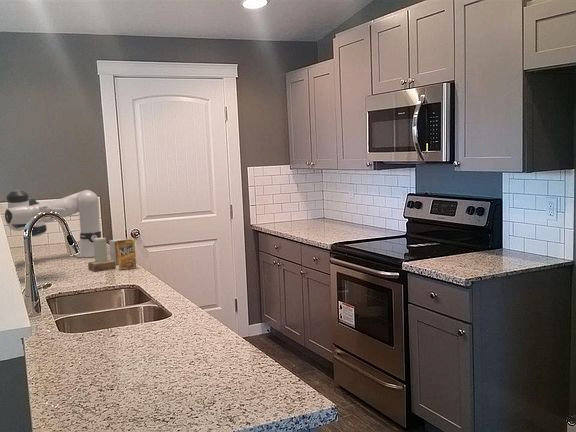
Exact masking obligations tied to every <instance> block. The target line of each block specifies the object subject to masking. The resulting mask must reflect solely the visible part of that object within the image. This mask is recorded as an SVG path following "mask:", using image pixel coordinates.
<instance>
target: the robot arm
mask: <svg viewBox="0 0 576 432" xmlns="http://www.w3.org/2000/svg"><path fill="white" fill-rule="evenodd" d="M6 201H7V207H8V208H6V210H5V211H4V220H5V223H6V225H7V227H8V228H10V230H12V231H15V232H21V231H23V230H24V227H25V225H26V223H27V222H28V221H29V220H30V218H31V217H33V216H34V215H36V214H38V213H40V212H43V211H53V212H57V213H59V214H60V215H61V216H62V217H64V218H68V217H70V216H73V215H76V214H78V213H79V216H78V217H79V227H80V232H79V241H78V243H77V245H79V247H80V253H79V254H77V255H74V256H75V257H76V258H95V253H94V241H93V239H95V238H102V231H101V225H100V207H99V206H100V205H99V197H98V195H97V194H96V193H95V192H94V191H92V190H89V189H84V190H82V191H81V190H80V191H79V192H76V193H73V194H70V195H67V196H64V197H62V198H59V199H56V200H52V201H49V202H48V203H40V202H38V201H37V200H36V199H34V198H32V197H31V198H30V197H29V194H28V193H27V192H26V191H24V190H14V191H10V192H9V193H8V194H7V196H6ZM54 221H55V220H54V219H52V218H43V219H41V220H39V221H38V222H37V223H36V225H35V226H34V227H33V230H32V236H31V237H35V238H37V237H41V236H42V235H44V234H45V233H46V231H47V230H48V229H47V223H51V222H54ZM107 254H109V251H108V250H107Z"/></svg>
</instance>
